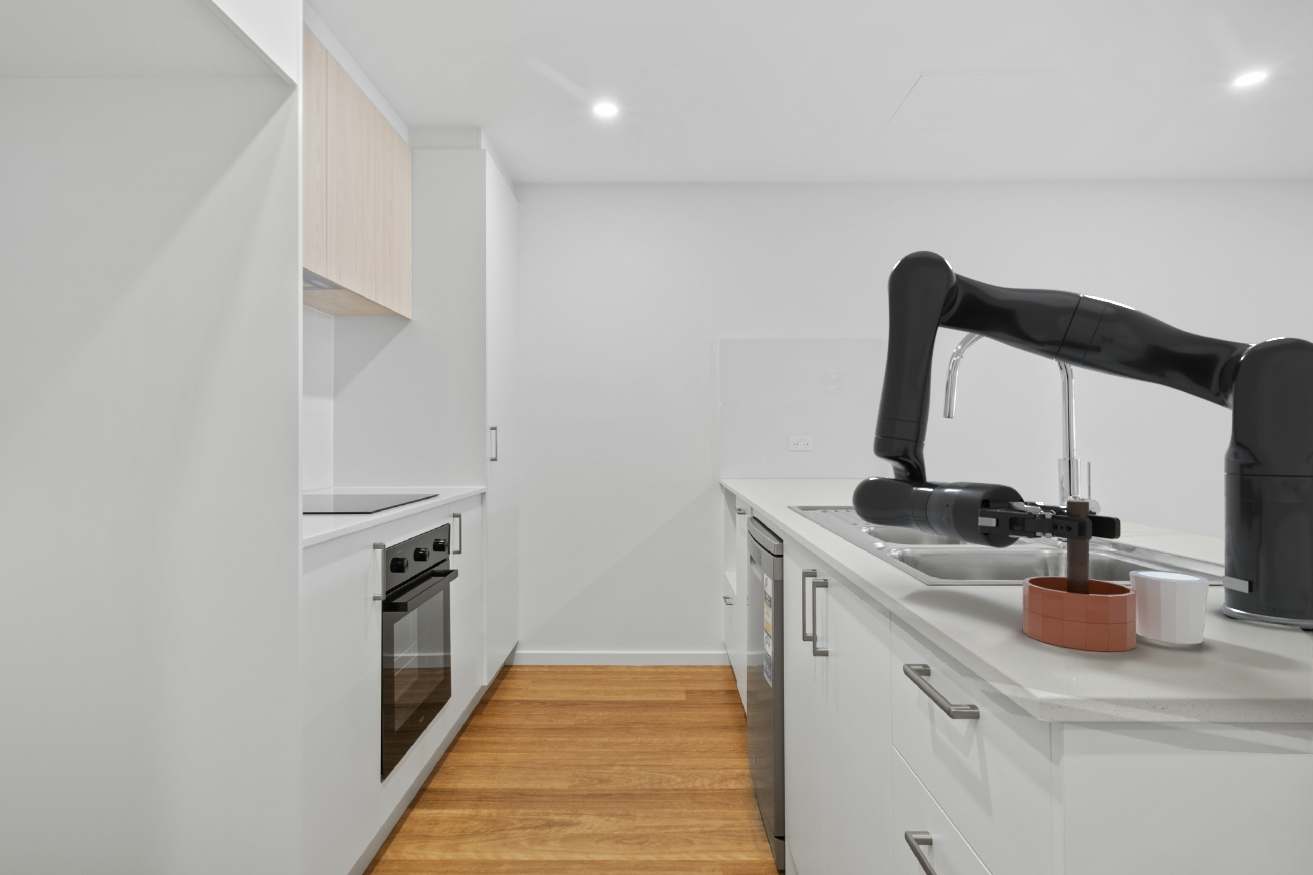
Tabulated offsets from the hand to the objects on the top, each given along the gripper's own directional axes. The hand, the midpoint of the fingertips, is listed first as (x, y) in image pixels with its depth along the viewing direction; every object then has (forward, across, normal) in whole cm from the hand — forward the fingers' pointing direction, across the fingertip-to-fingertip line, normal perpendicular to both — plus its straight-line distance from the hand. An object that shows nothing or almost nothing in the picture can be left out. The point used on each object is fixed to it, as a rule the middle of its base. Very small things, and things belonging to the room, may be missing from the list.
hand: (1103, 529), depth 70 cm
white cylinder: (0, +10, +12) cm, 16 cm away
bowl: (-3, 0, +12) cm, 13 cm away
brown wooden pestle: (-3, 0, +12) cm, 12 cm away
